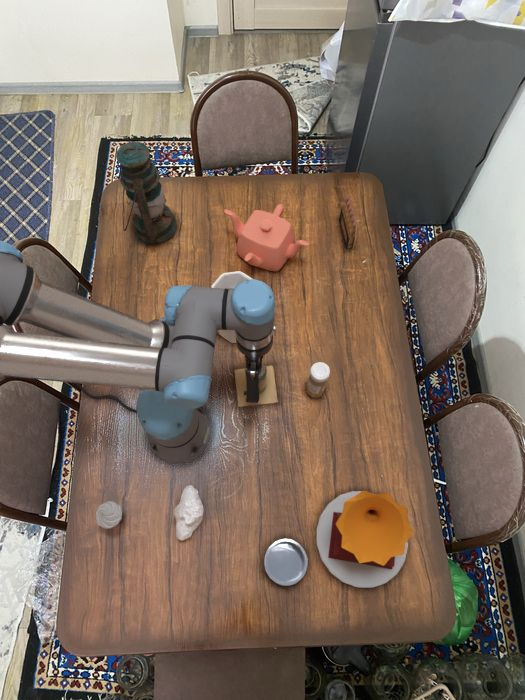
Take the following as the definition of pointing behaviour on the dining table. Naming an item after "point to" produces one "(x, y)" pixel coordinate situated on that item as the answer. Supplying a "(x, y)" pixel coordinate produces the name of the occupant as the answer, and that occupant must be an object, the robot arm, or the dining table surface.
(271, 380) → the coaster
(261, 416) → the dining table surface
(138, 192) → the lantern
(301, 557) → the grey cylinder
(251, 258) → the pot
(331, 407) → the dining table surface
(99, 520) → the ice cream cone
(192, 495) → the white rock
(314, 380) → the sprinkles bottle
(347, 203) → the bullet clip
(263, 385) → the green can
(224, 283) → the cup
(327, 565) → the gramophone
